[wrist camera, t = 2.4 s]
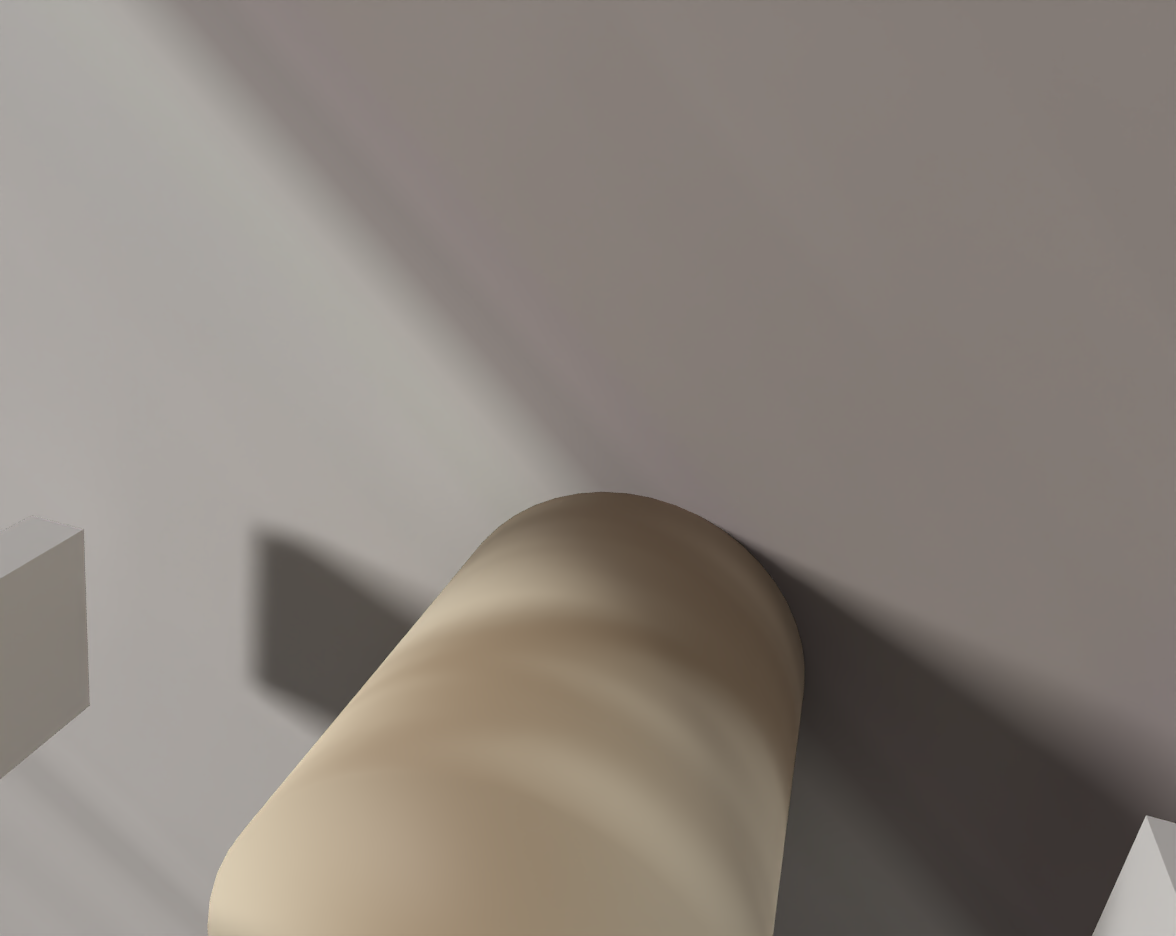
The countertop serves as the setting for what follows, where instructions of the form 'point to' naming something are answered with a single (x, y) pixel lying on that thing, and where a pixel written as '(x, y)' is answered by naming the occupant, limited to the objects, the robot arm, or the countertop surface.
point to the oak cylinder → (550, 749)
